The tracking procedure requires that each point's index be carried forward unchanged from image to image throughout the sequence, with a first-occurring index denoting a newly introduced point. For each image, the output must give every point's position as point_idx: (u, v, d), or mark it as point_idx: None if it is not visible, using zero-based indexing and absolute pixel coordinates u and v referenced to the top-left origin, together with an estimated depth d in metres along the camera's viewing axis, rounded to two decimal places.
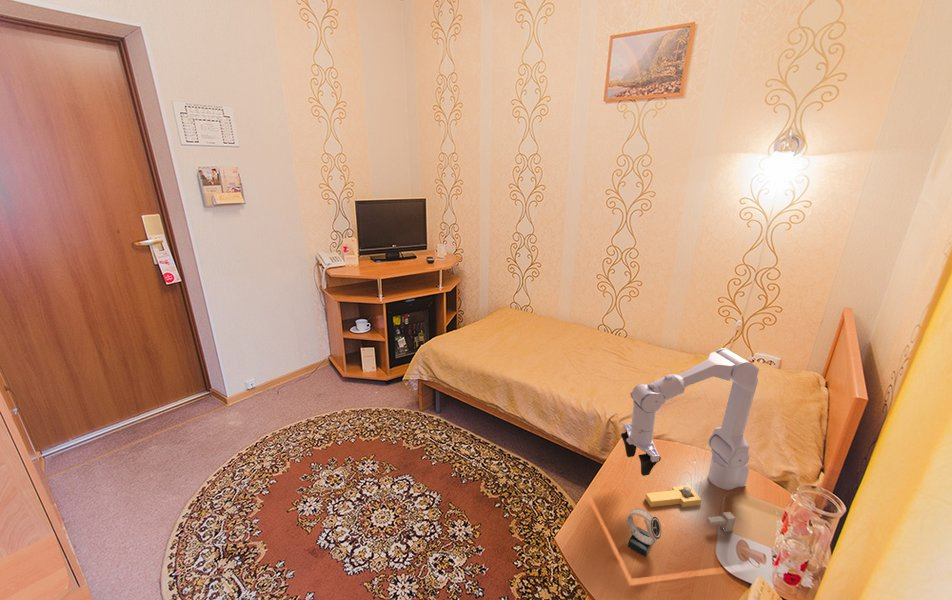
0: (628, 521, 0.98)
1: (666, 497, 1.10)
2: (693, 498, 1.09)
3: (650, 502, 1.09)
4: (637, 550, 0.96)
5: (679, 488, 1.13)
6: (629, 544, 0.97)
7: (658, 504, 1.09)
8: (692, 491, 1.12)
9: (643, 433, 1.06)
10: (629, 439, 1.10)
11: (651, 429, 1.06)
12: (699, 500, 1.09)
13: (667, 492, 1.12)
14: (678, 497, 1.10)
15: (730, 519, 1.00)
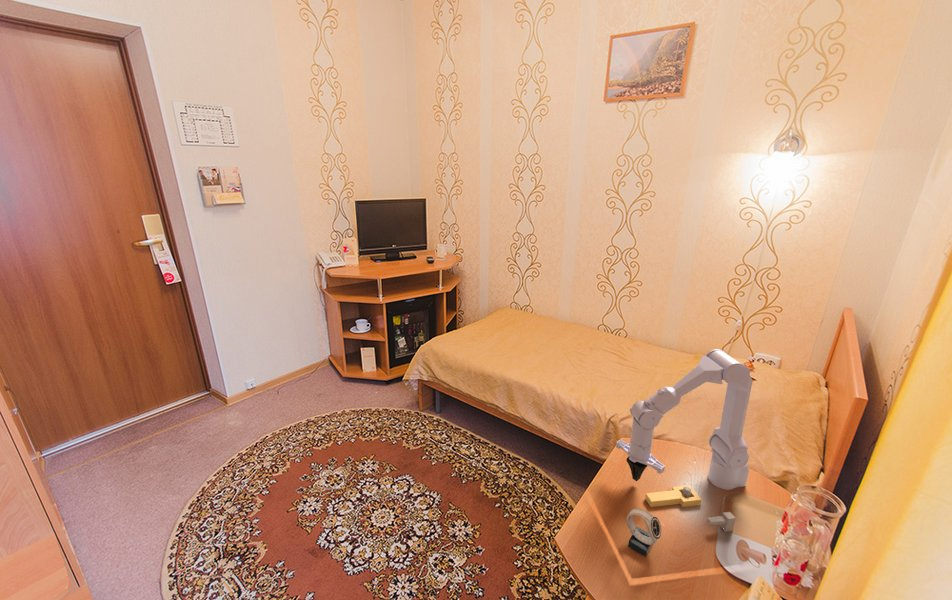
0: (628, 521, 0.98)
1: (666, 497, 1.10)
2: (693, 498, 1.09)
3: (650, 502, 1.09)
4: (637, 550, 0.96)
5: (679, 488, 1.13)
6: (629, 544, 0.97)
7: (658, 504, 1.09)
8: (692, 491, 1.12)
9: (646, 448, 1.10)
10: (631, 457, 1.12)
11: (649, 445, 1.10)
12: (699, 500, 1.09)
13: (667, 492, 1.12)
14: (678, 497, 1.10)
15: (730, 519, 1.00)
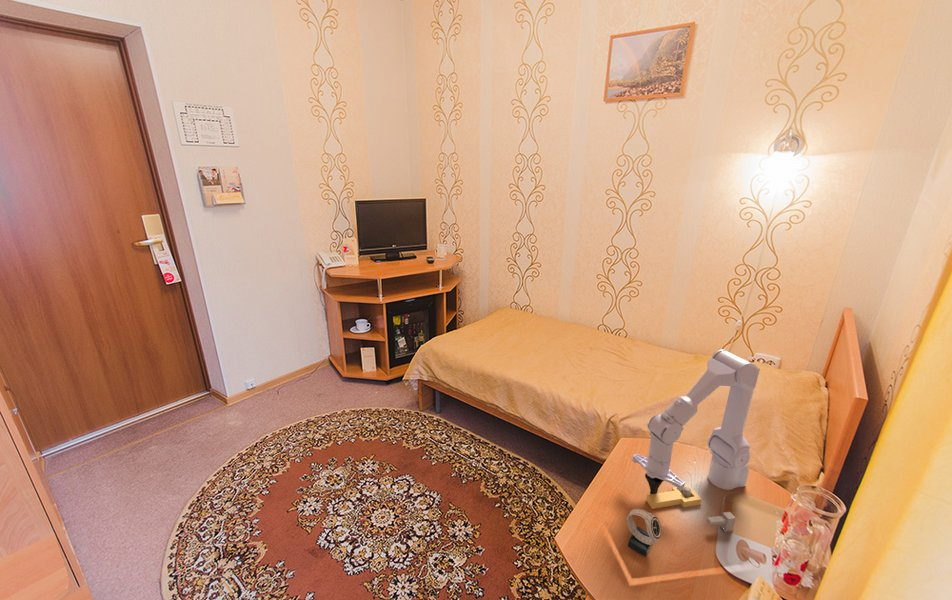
0: (628, 521, 0.98)
1: (667, 498, 1.09)
2: (693, 497, 1.09)
3: (651, 504, 1.09)
4: (637, 550, 0.96)
5: None
6: (629, 544, 0.97)
7: (659, 505, 1.09)
8: (692, 491, 1.12)
9: (665, 464, 1.06)
10: (649, 472, 1.08)
11: (669, 459, 1.06)
12: (699, 500, 1.09)
13: (668, 492, 1.11)
14: (679, 497, 1.09)
15: (730, 519, 1.00)
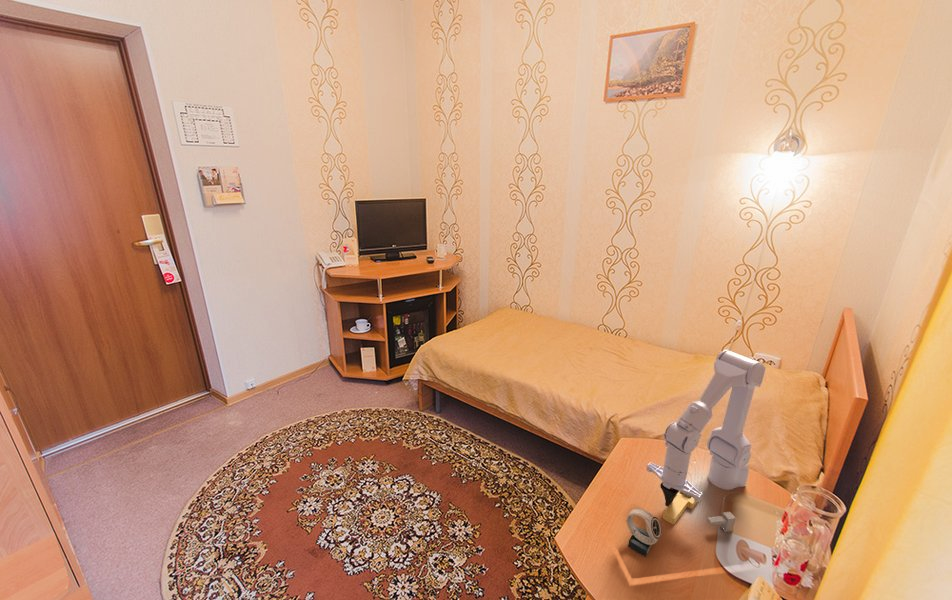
0: (628, 521, 0.98)
1: (679, 507, 1.06)
2: None
3: (672, 520, 1.03)
4: (637, 550, 0.96)
5: None
6: (629, 544, 0.97)
7: (677, 518, 1.05)
8: None
9: (682, 474, 1.02)
10: (665, 483, 1.04)
11: (687, 468, 1.02)
12: None
13: (675, 500, 1.09)
14: (686, 501, 1.08)
15: (730, 519, 1.00)
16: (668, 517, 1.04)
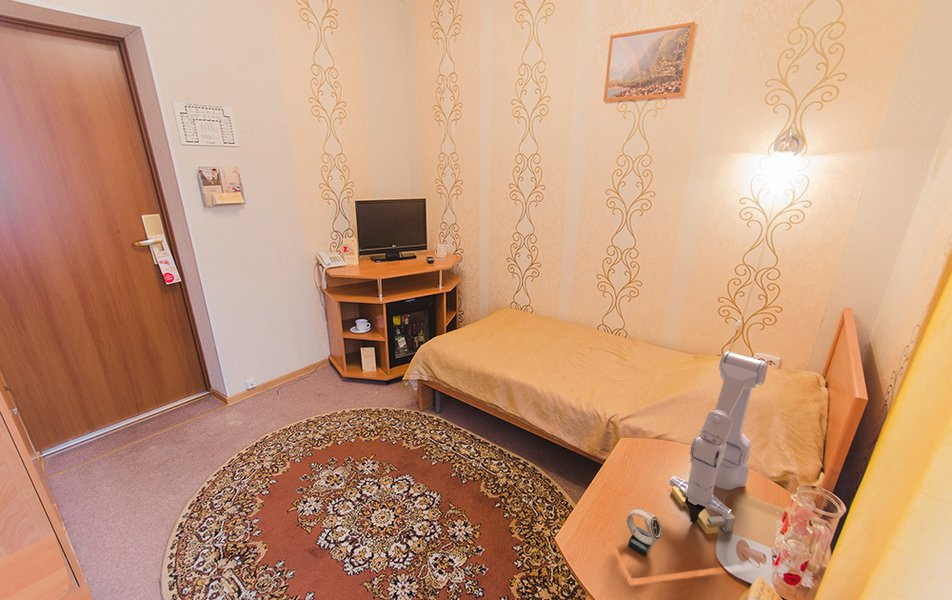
0: (628, 521, 0.98)
1: (703, 511, 1.05)
2: None
3: (716, 529, 1.00)
4: (637, 550, 0.96)
5: (682, 496, 1.10)
6: (629, 544, 0.97)
7: None
8: None
9: (709, 490, 0.97)
10: (691, 498, 0.99)
11: None
12: None
13: None
14: None
15: (730, 519, 1.00)
16: (712, 529, 1.00)
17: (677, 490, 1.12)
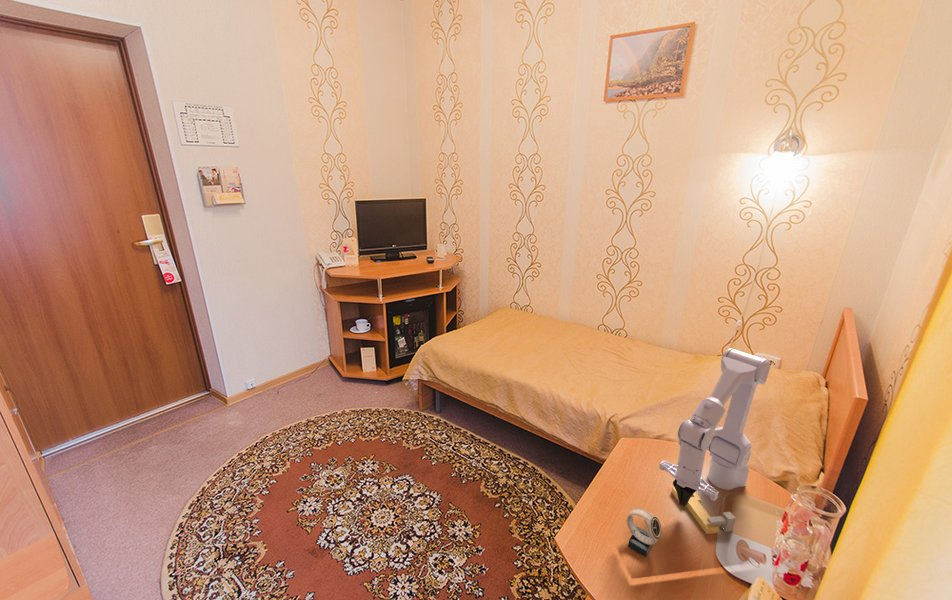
0: (628, 521, 0.98)
1: (703, 511, 1.05)
2: None
3: (716, 529, 1.00)
4: (637, 550, 0.96)
5: None
6: (629, 544, 0.97)
7: None
8: None
9: (697, 472, 0.99)
10: (680, 481, 1.01)
11: (702, 465, 0.99)
12: None
13: (693, 507, 1.06)
14: (697, 501, 1.08)
15: (730, 519, 1.00)
16: (712, 529, 1.00)
17: None
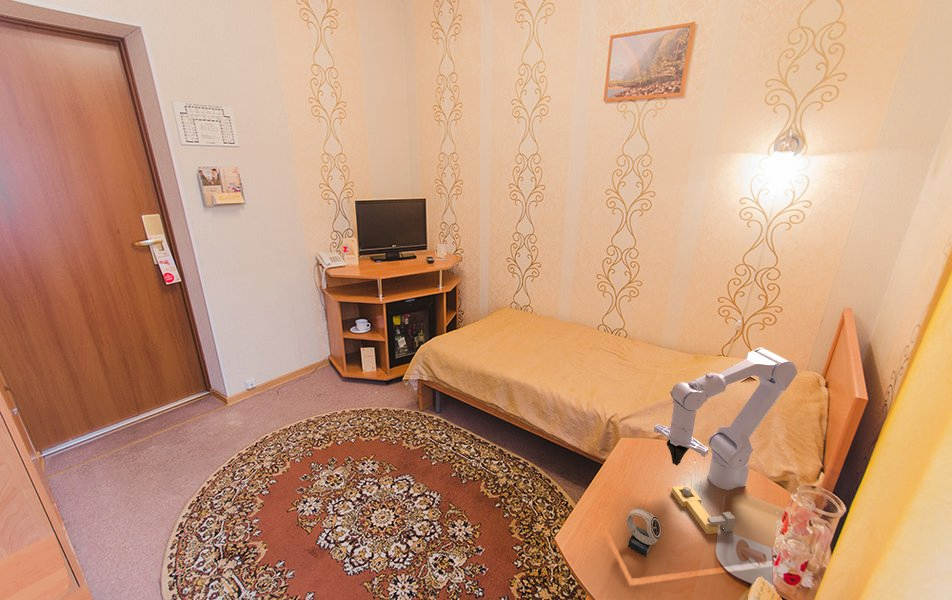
0: (628, 521, 0.98)
1: (703, 511, 1.05)
2: (691, 490, 1.12)
3: (716, 529, 1.00)
4: (637, 550, 0.96)
5: (682, 496, 1.10)
6: (629, 544, 0.97)
7: None
8: (681, 487, 1.13)
9: (689, 431, 1.07)
10: (673, 440, 1.09)
11: (692, 427, 1.07)
12: None
13: (693, 507, 1.06)
14: (697, 501, 1.08)
15: (730, 519, 1.00)
16: (712, 529, 1.00)
17: (677, 490, 1.12)
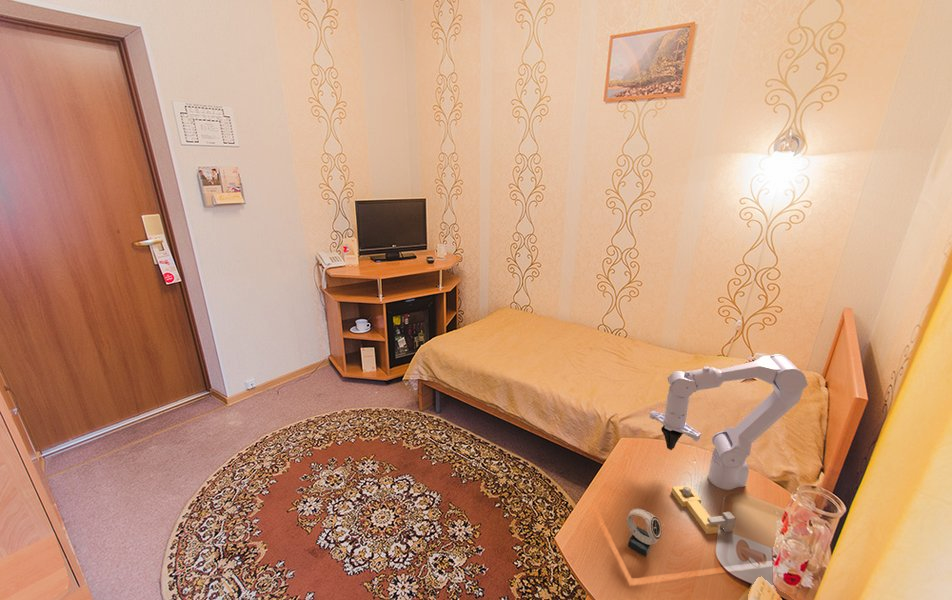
0: (628, 521, 0.98)
1: (703, 511, 1.05)
2: (691, 490, 1.12)
3: (716, 529, 1.00)
4: (637, 550, 0.96)
5: (682, 496, 1.10)
6: (629, 544, 0.97)
7: None
8: (681, 487, 1.13)
9: (682, 417, 1.13)
10: (667, 426, 1.15)
11: (682, 414, 1.12)
12: None
13: (693, 507, 1.06)
14: (697, 501, 1.08)
15: (730, 519, 1.00)
16: (712, 529, 1.00)
17: (677, 490, 1.12)
